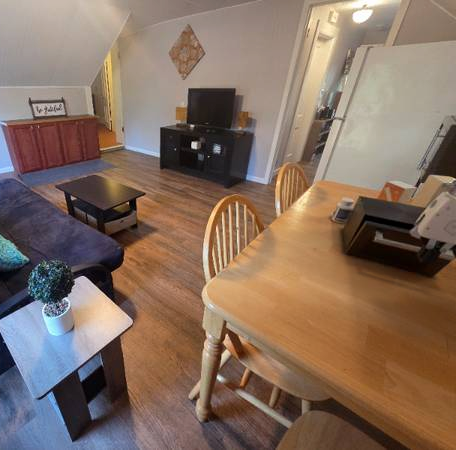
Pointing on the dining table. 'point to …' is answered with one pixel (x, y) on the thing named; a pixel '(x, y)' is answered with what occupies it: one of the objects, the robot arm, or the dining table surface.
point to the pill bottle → (343, 210)
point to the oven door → (395, 249)
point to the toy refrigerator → (431, 190)
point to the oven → (379, 216)
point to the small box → (397, 192)
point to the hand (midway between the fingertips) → (423, 260)
